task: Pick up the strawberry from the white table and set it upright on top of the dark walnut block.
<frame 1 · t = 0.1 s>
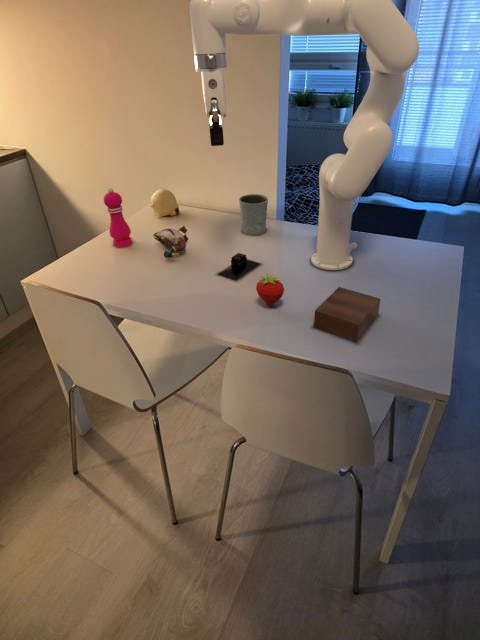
hand: (217, 141, 106), 37 cm above the table, tool pointing down, fingers open, 9 cm apart
strawberry: (270, 306, 109), on the table
pepper mill: (123, 244, 148), on the table
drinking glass: (254, 231, 151), on the table
walnut block: (346, 321, 101), on the table
build plate: (239, 270, 127), on the table
decorative duck model: (168, 253, 139), on the table
beige rounded lump: (166, 215, 170), on the table
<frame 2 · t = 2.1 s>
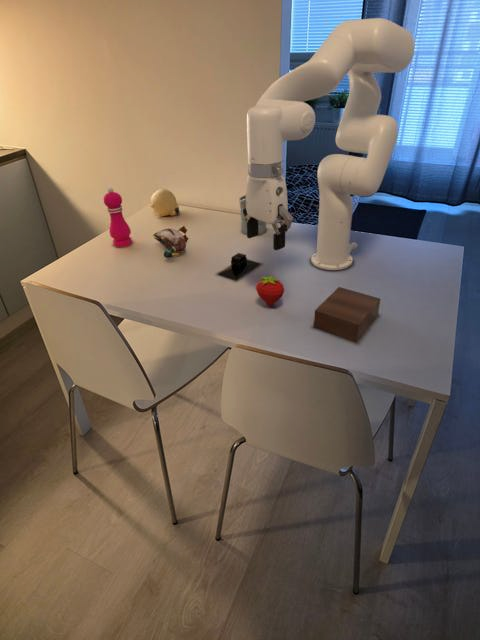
hand: (265, 242, 99), 18 cm above the table, tool pointing down, fingers open, 9 cm apart
nothing on the table moved.
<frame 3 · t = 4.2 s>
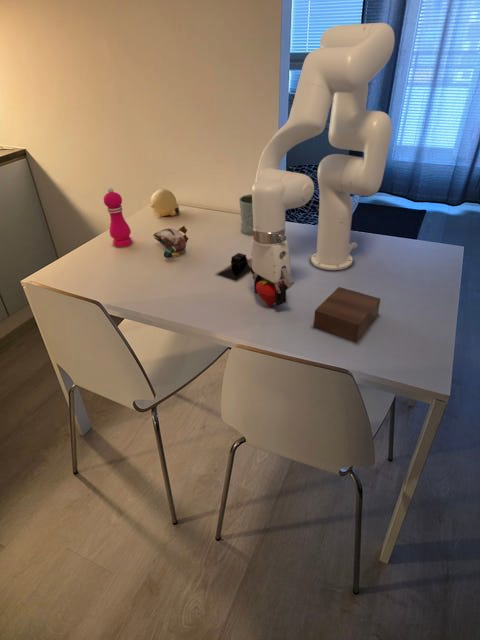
hand: (269, 297, 107), 3 cm above the table, tool pointing down, fingers closed on strawberry, 7 cm apart
strawberry: (270, 306, 109), on the table, touching gripper
everything else where it was.
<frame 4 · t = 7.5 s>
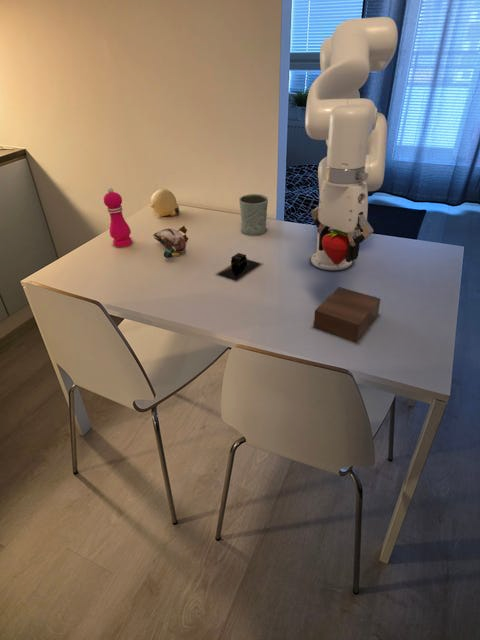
hand: (337, 253, 93), 18 cm above the table, tool pointing down, fingers closed on strawberry, 7 cm apart
strawberry: (336, 265, 94), point 15 cm above the table, touching gripper
everything else where it was.
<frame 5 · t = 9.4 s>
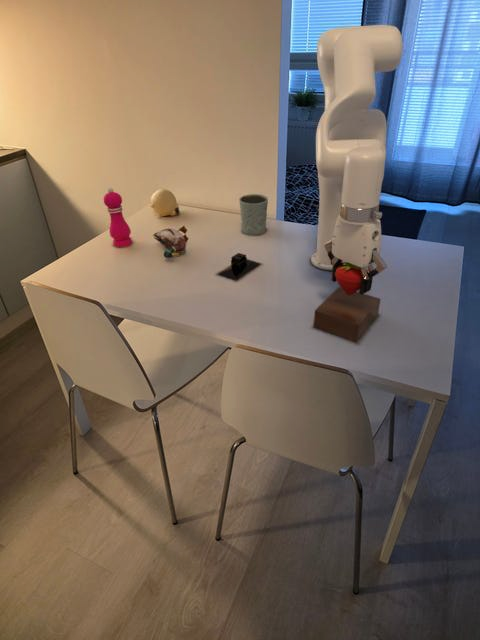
hand: (350, 285, 95), 10 cm above the table, tool pointing down, fingers closed on strawberry, 7 cm apart
strawberry: (349, 296, 97), point 7 cm above the table, touching gripper
everything else where it was.
when the fingers open (8 cm above the table, at t = 10.7 s): strawberry stays where it is, resting on walnut block.
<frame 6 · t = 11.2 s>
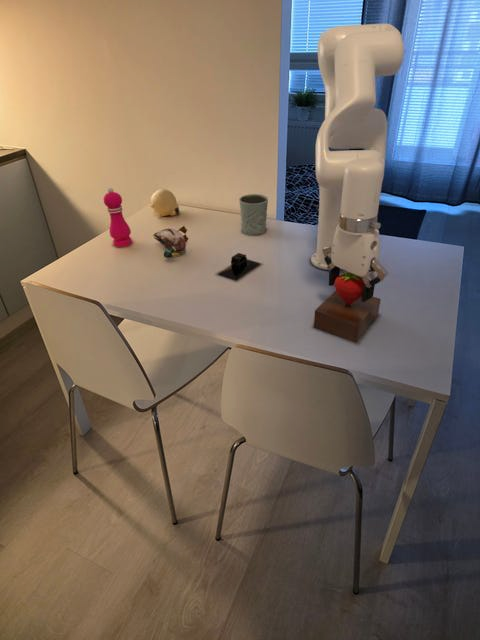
hand: (349, 291, 96), 9 cm above the table, tool pointing down, fingers open, 9 cm apart
strawberry: (348, 305, 98), point 5 cm above the table, touching walnut block
walnut block: (346, 321, 101), on the table, touching strawberry
everything else where it was.
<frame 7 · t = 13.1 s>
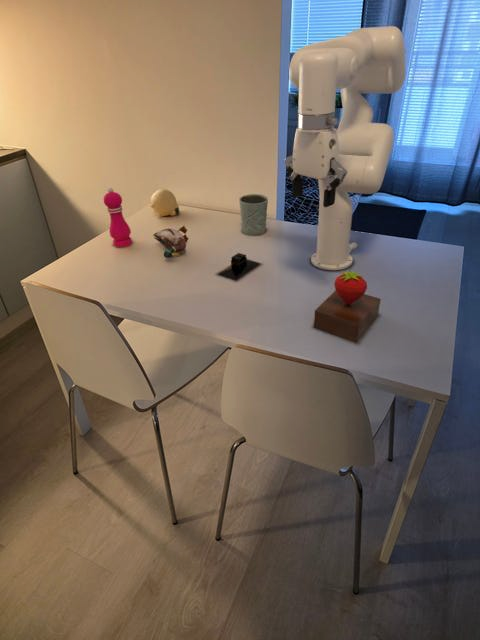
hand: (312, 200, 97), 26 cm above the table, tool pointing down, fingers open, 9 cm apart
nothing on the table moved.
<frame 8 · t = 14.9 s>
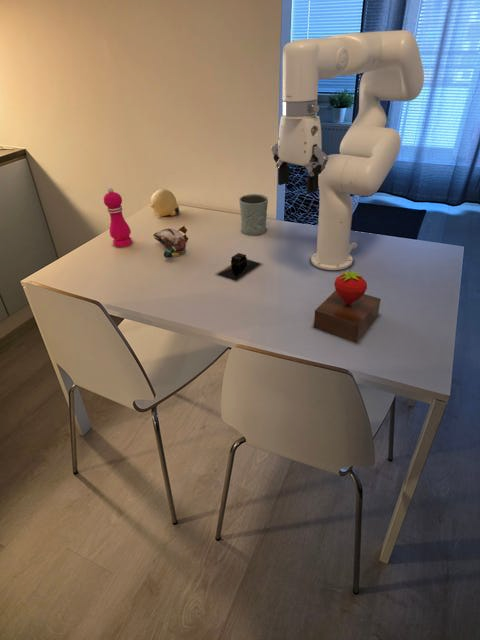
hand: (297, 187, 99), 28 cm above the table, tool pointing down, fingers open, 9 cm apart
nothing on the table moved.
at the end: strawberry inside the target area on the walnut block (0.1 cm from its centre), point 4.8 cm above the walnut block's base; strawberry tilted 0°; the gripper is holding nothing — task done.
